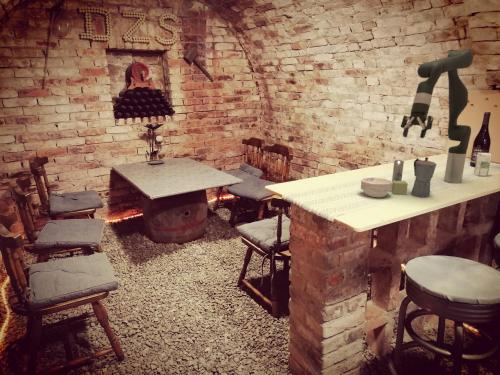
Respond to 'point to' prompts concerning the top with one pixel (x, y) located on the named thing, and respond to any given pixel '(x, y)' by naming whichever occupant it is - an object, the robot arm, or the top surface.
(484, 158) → the syrup box
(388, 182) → the paper bowls
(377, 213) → the top surface
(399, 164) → the flanged base cylinder
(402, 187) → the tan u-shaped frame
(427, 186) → the moka pot
